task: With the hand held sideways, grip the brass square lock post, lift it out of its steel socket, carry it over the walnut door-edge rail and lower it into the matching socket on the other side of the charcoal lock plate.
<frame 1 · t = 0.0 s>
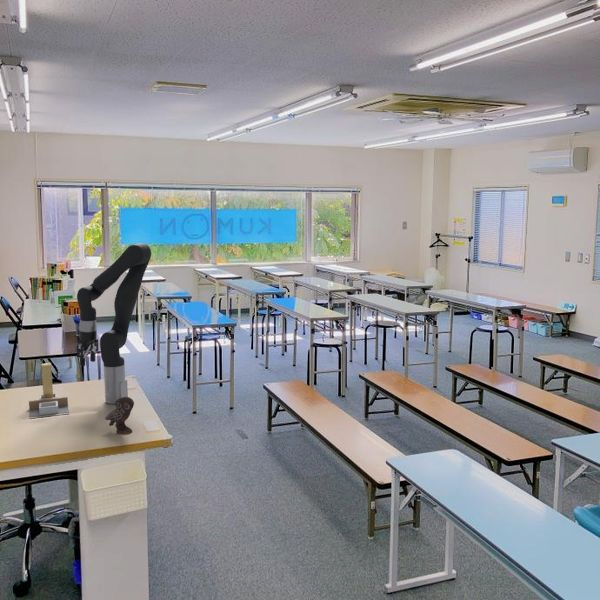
hand: (87, 363, 292), 17 cm above the table, tool pointing down, fingers open, 8 cm apart
lock post: (48, 402, 287), point 1 cm above the table, touching lock plate
lock plate: (49, 408, 281), on the table
figurine: (120, 432, 252), on the table
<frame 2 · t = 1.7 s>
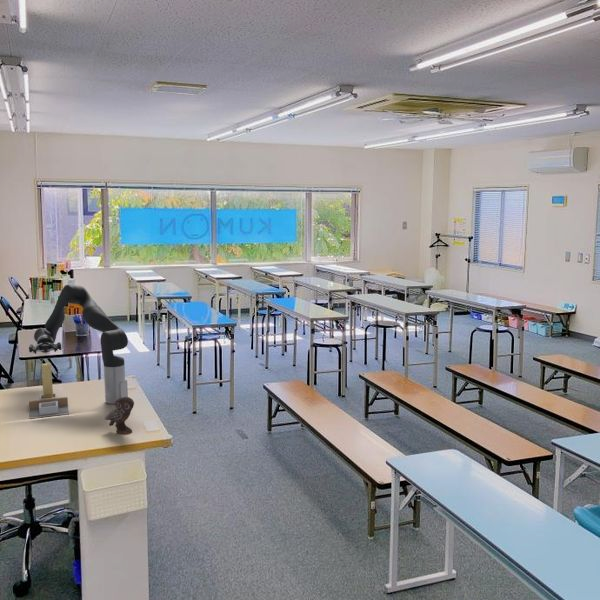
hand: (45, 350, 294), 23 cm above the table, tool horizontal, fingers open, 8 cm apart
nothing on the table moved.
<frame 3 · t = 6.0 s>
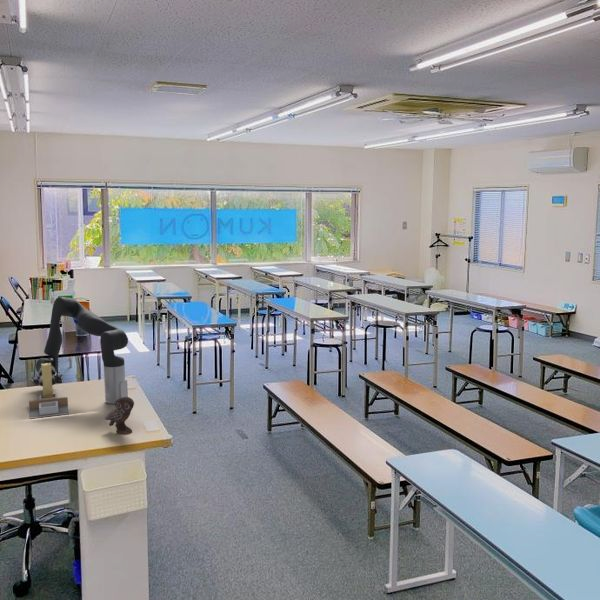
hand: (47, 383, 283), 10 cm above the table, tool horizontal, fingers closed on lock post, 4 cm apart
lock post: (48, 402, 287), point 1 cm above the table, touching gripper, lock plate
everything else where it was.
when the fingers open (12 cm above the table, at t = 12.0 s): lock post drops 1 cm, resting on lock plate.
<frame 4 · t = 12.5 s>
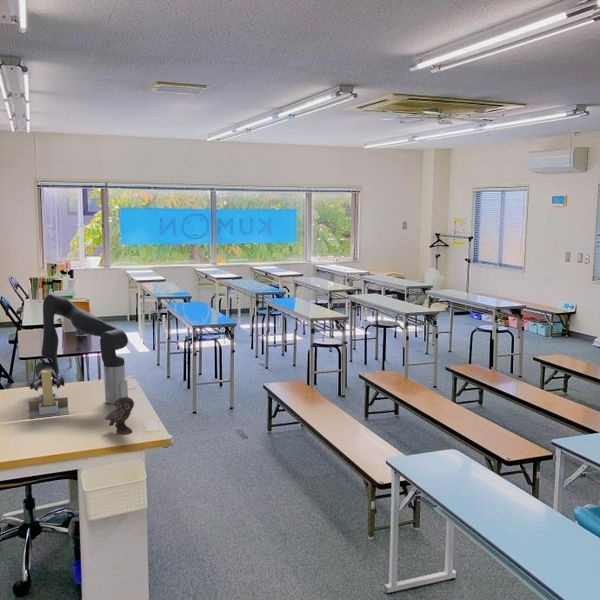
hand: (47, 387, 272), 12 cm above the table, tool horizontal, fingers open, 8 cm apart
lock post: (48, 411, 275), point 1 cm above the table, touching lock plate
everything else where it was.
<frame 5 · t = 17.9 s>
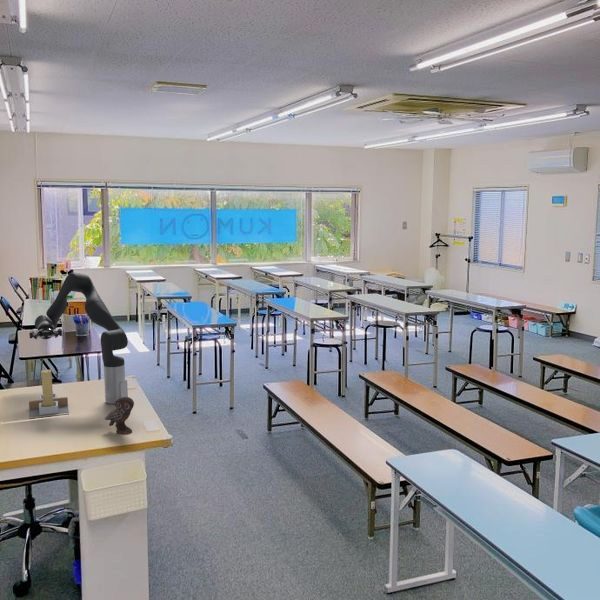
hand: (46, 336, 290), 30 cm above the table, tool horizontal, fingers open, 8 cm apart
nothing on the table moved.
at the end: lock post 0.1 cm from the target spot on the lock plate, point 0.8 cm above the lock plate's base; lock post tilted 0°; the gripper is holding nothing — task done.
